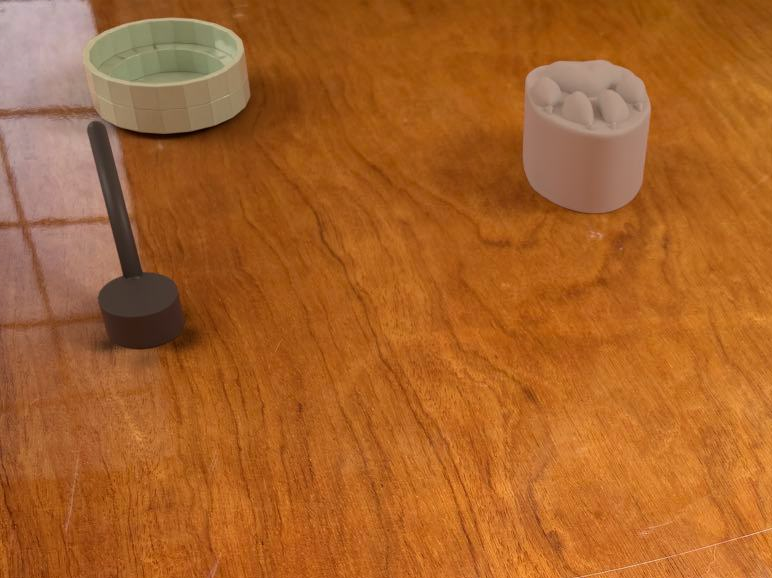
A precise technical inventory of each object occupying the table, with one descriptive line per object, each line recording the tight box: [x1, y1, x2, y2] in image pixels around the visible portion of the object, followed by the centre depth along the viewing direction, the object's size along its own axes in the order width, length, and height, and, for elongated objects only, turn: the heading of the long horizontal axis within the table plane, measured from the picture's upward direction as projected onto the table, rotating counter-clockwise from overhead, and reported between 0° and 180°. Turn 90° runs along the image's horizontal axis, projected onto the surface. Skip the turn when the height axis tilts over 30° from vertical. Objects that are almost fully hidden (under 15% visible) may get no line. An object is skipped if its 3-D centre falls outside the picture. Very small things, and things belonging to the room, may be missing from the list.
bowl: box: [82, 17, 252, 135], centre depth 108 cm, size 14×14×5 cm
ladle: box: [86, 120, 186, 350], centre depth 86 cm, size 16×6×10 cm, turn 21°
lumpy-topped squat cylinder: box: [522, 59, 652, 215], centre depth 101 cm, size 10×13×9 cm
